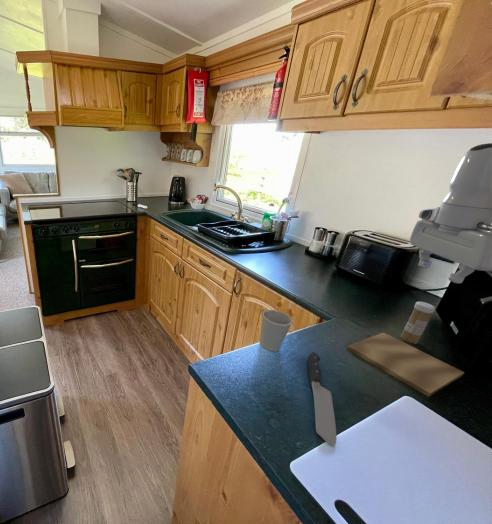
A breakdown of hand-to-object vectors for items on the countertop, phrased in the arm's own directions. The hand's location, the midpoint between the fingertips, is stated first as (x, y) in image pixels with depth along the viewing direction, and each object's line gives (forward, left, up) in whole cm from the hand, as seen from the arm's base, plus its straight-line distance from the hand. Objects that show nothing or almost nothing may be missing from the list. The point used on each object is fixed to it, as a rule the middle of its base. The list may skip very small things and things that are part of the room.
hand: (437, 274), depth 71 cm
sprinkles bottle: (+6, -22, -29) cm, 37 cm away
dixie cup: (+21, +26, -29) cm, 44 cm away
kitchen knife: (+2, +30, -29) cm, 42 cm away
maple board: (+1, -6, -29) cm, 30 cm away
